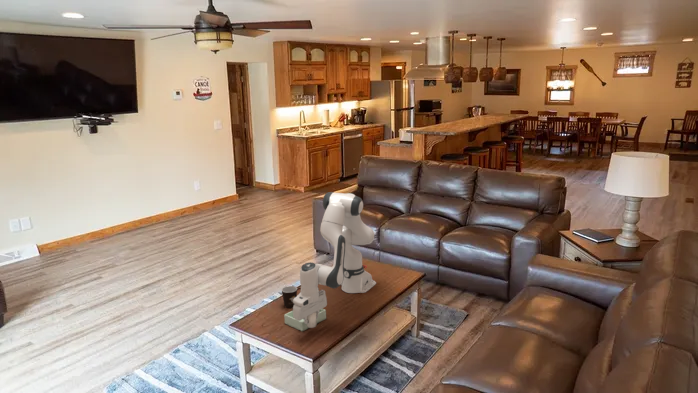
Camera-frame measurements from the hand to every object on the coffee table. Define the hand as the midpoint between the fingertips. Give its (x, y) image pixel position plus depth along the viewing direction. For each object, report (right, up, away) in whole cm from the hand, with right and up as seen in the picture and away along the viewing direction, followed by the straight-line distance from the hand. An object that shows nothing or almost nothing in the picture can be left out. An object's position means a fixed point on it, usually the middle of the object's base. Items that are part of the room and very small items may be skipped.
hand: (311, 320), depth 238 cm
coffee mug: (-13, +1, +30) cm, 33 cm away
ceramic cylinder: (0, -2, +1) cm, 2 cm away
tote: (-4, -3, +12) cm, 13 cm away
